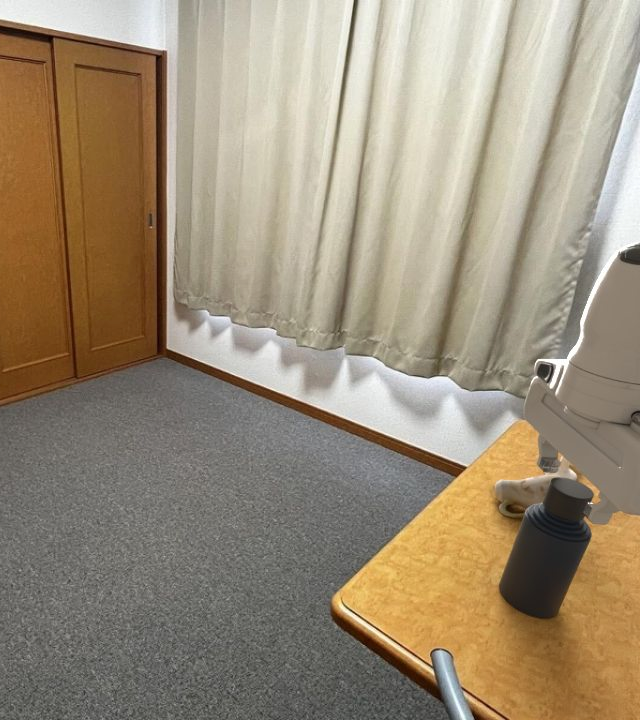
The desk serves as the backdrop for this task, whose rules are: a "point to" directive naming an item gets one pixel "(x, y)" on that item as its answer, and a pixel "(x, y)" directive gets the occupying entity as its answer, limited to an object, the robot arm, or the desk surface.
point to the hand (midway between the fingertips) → (568, 493)
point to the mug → (522, 492)
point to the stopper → (567, 498)
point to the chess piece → (564, 470)
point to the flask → (543, 562)
